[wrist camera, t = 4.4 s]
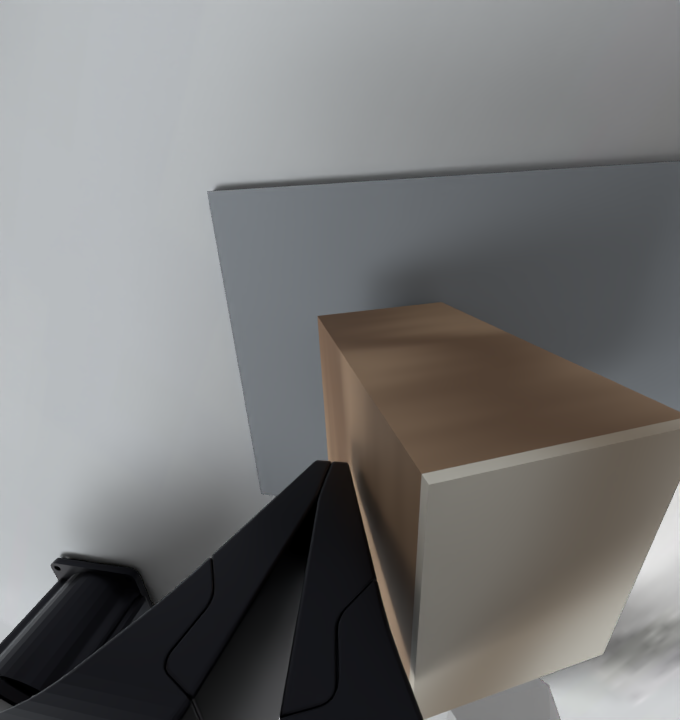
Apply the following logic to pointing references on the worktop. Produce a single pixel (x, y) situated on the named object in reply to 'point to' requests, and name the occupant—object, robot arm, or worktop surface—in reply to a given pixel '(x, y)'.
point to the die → (509, 705)
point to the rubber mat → (449, 278)
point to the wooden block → (492, 493)
